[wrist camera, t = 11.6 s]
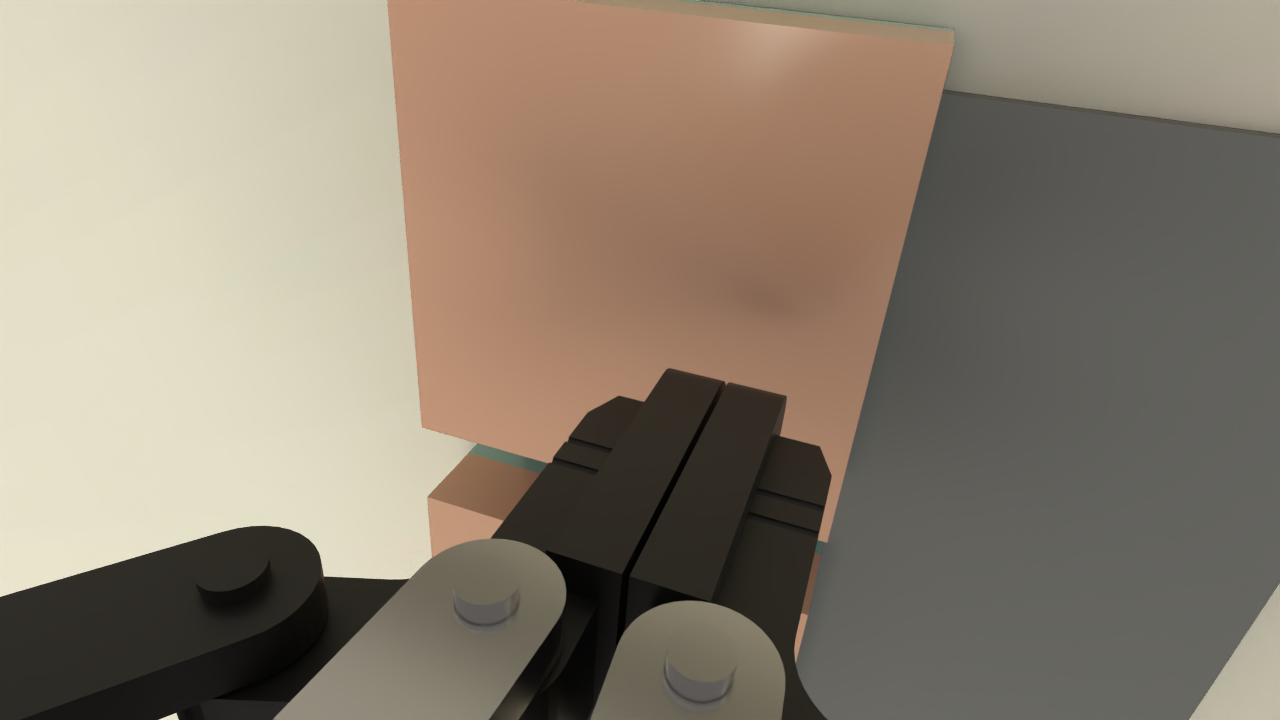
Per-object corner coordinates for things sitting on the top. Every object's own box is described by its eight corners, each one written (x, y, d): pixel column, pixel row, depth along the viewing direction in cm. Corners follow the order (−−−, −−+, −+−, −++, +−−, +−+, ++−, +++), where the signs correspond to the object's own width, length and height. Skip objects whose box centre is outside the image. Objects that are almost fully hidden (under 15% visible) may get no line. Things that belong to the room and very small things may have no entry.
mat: (1533, 167, 11) (1550, 174, 11) (1088, 853, 20) (1089, 868, 20) (531, 35, 15) (522, 37, 15) (530, 654, 24) (523, 664, 24)
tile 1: (954, 45, 11) (385, -21, 13) (827, 542, 15) (421, 427, 17) (953, 28, 13) (461, -27, 15) (841, 472, 17) (476, 376, 19)
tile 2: (808, 615, 16) (427, 496, 18) (746, 855, 20) (446, 736, 23) (823, 540, 18) (478, 442, 20) (764, 774, 22) (487, 672, 25)
